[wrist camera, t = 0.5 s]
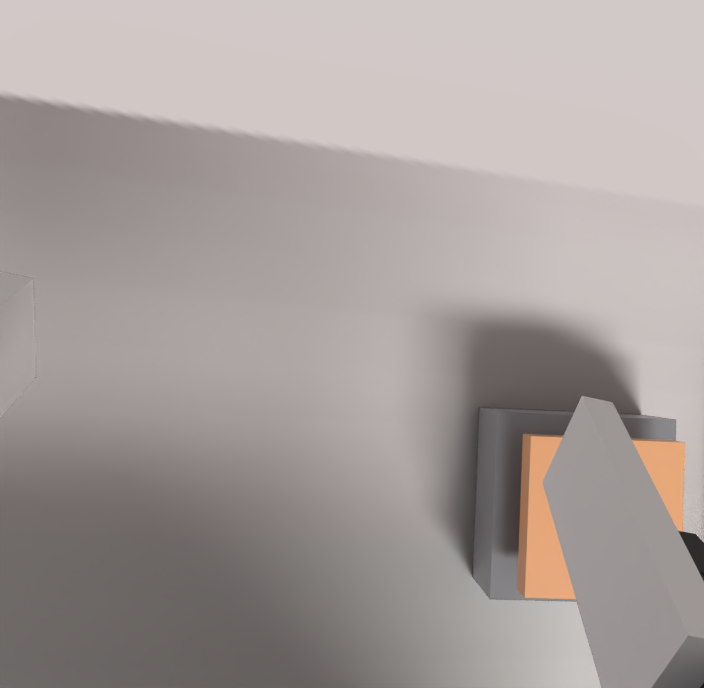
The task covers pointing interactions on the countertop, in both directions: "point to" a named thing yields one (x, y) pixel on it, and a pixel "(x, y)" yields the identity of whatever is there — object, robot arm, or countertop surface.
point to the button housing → (505, 487)
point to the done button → (537, 523)
